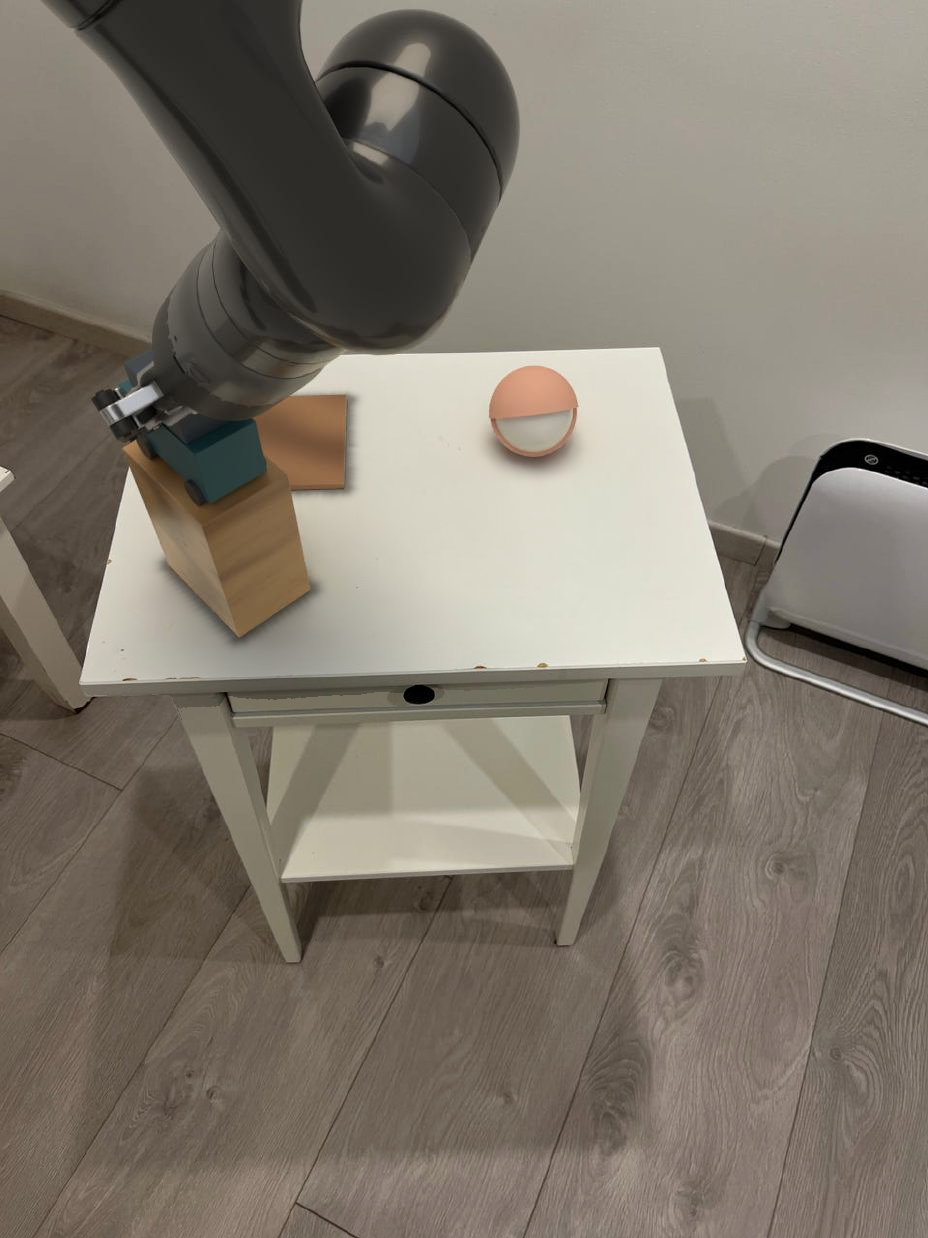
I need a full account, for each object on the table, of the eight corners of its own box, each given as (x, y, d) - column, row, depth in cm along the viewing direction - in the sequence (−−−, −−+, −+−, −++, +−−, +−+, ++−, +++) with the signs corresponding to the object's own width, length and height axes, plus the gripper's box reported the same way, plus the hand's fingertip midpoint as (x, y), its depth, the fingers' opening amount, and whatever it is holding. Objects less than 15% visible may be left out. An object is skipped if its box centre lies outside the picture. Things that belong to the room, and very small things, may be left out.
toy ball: (496, 478, 78) (501, 409, 72) (479, 420, 82) (482, 351, 76) (581, 467, 79) (594, 399, 73) (560, 411, 83) (570, 342, 77)
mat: (344, 488, 77) (343, 483, 76) (207, 492, 76) (205, 487, 76) (346, 399, 84) (346, 394, 83) (221, 401, 83) (220, 397, 83)
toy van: (274, 476, 60) (253, 382, 53) (207, 515, 57) (177, 422, 51) (200, 411, 63) (172, 316, 57) (135, 445, 61) (98, 350, 54)
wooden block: (311, 589, 70) (288, 474, 60) (239, 638, 67) (201, 525, 57) (239, 522, 74) (205, 402, 64) (168, 565, 71) (121, 447, 61)
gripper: (321, 204, 45) (231, 305, 60) (70, 316, 39) (39, 398, 54) (393, 338, 47) (289, 404, 62) (165, 464, 41) (110, 503, 56)
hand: (173, 401), depth 58 cm, fingers closed on toy van, 4 cm apart
